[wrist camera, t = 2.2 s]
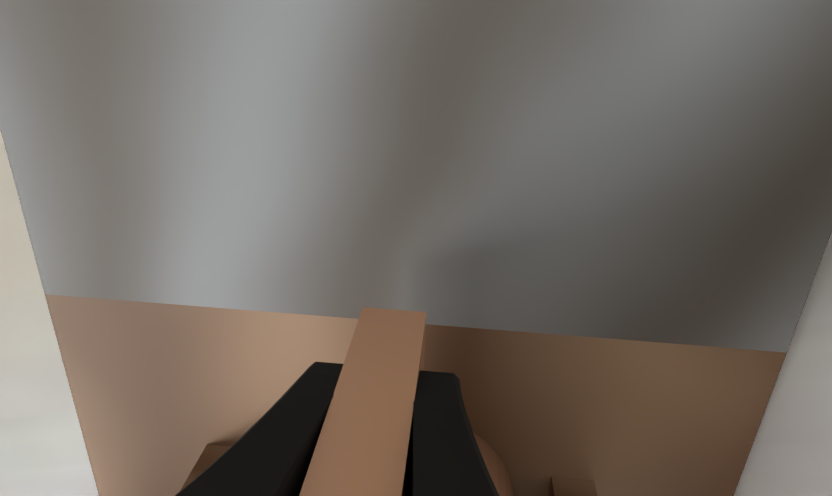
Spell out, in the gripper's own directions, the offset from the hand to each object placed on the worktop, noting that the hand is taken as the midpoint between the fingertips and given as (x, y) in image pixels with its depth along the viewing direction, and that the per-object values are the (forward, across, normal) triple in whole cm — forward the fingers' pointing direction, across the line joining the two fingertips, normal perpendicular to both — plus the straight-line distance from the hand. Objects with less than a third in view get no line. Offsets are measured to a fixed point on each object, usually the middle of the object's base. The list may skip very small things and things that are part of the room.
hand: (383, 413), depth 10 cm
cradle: (+3, 0, 0) cm, 3 cm away
